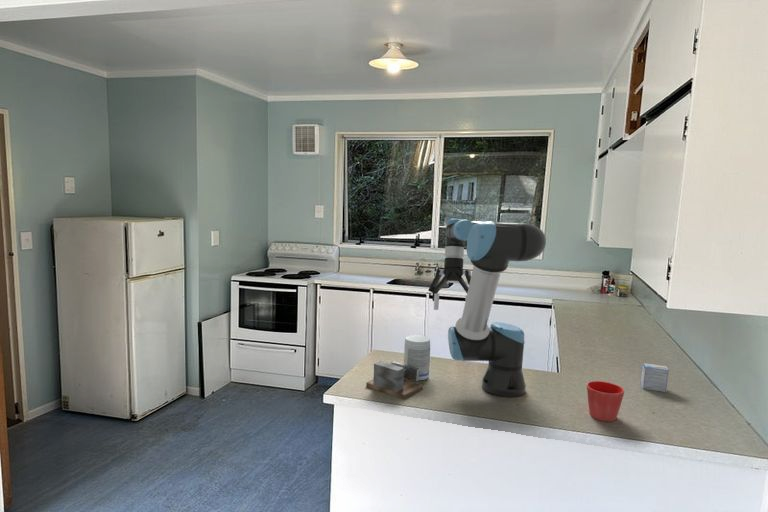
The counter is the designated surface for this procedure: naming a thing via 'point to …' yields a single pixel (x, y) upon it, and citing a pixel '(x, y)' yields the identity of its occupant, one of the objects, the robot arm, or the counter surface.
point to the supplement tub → (418, 354)
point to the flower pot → (604, 400)
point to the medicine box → (654, 377)
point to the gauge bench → (402, 393)
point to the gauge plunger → (408, 371)
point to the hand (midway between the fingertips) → (451, 311)
